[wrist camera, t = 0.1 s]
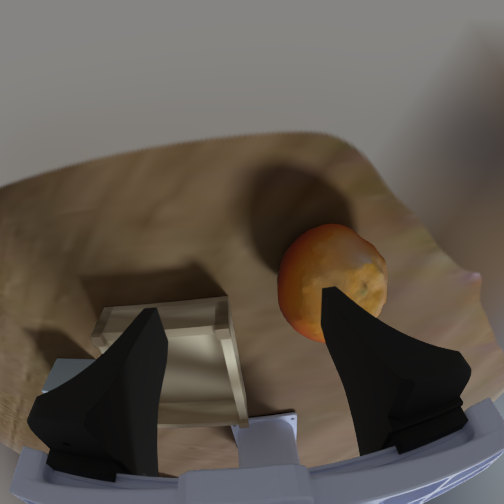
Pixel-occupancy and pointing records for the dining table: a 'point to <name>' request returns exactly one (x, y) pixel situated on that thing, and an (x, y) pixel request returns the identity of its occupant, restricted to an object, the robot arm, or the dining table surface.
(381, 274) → the fruit
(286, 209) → the dining table surface
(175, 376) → the pine crate
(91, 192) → the dining table surface
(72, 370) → the small crate
